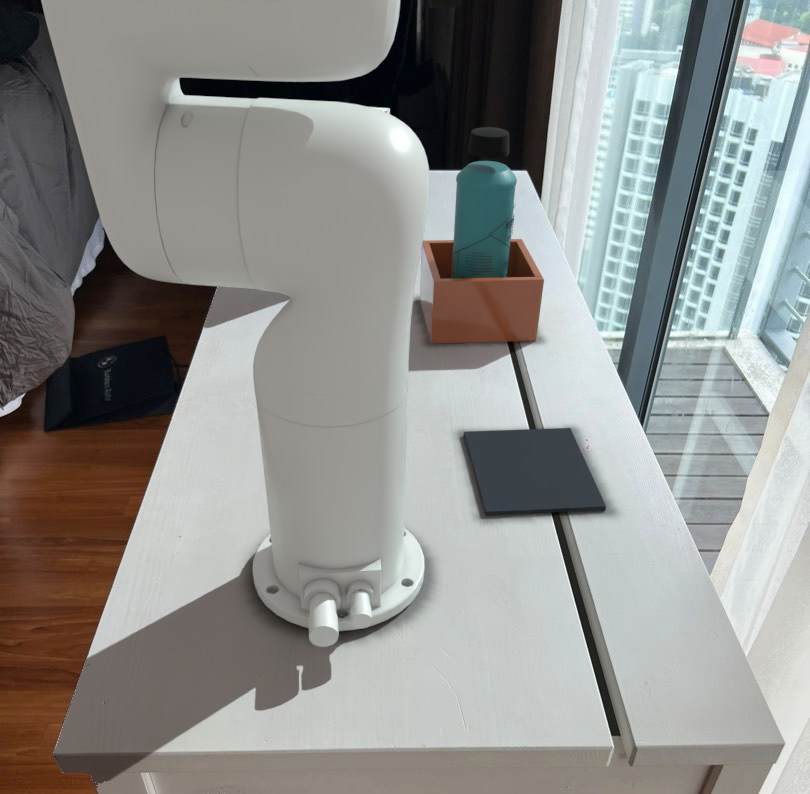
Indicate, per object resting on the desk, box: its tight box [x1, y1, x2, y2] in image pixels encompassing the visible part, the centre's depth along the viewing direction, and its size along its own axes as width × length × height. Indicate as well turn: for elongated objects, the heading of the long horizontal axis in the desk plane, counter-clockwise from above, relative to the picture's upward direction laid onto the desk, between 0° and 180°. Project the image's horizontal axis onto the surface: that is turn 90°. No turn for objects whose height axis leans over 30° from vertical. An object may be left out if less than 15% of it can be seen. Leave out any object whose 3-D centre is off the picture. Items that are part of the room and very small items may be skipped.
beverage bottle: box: [450, 126, 518, 279], centre depth 89 cm, size 6×7×20 cm
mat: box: [463, 427, 607, 516], centre depth 73 cm, size 12×10×1 cm
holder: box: [419, 238, 545, 345], centre depth 94 cm, size 12×12×7 cm
